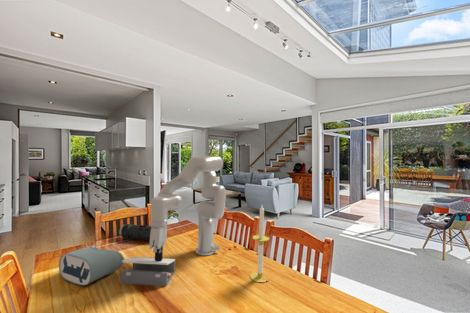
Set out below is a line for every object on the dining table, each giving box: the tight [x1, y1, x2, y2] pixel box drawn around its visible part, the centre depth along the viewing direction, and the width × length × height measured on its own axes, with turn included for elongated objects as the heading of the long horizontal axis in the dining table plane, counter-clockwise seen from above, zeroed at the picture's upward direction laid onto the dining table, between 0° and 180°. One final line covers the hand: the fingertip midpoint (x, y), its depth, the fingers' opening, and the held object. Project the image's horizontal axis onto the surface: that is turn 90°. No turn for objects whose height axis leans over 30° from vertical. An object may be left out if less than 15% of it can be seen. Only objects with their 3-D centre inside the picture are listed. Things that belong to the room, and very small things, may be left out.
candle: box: [249, 204, 270, 283], centre depth 114 cm, size 10×10×38 cm
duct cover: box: [122, 256, 176, 265], centre depth 112 cm, size 22×12×1 cm, turn 86°
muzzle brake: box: [118, 223, 152, 242], centre depth 159 cm, size 10×28×10 cm, turn 82°
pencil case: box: [58, 244, 125, 286], centre depth 114 cm, size 22×19×13 cm
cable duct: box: [120, 260, 176, 287], centre depth 112 cm, size 22×13×6 cm, turn 86°
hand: (158, 260), depth 110 cm, fingers closed
